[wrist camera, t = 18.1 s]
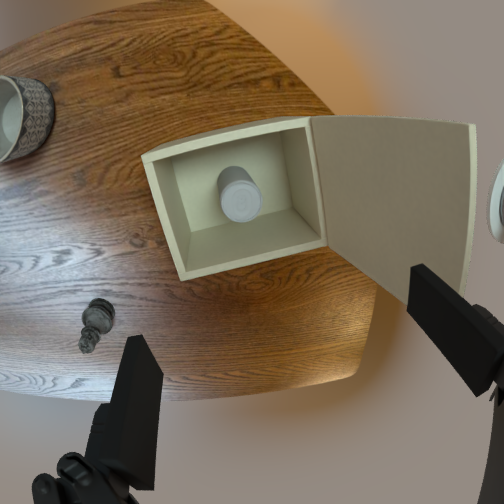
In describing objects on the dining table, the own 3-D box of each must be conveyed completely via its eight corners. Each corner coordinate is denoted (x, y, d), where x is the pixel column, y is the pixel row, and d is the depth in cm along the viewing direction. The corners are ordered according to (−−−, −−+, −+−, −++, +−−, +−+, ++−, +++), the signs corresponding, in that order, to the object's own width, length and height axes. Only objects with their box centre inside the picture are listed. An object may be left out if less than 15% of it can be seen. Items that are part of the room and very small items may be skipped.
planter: (30, 169, 39) (-5, 184, 30) (-10, 128, 34) (-47, 135, 25) (71, 105, 36) (38, 105, 27) (27, 66, 32) (-9, 60, 22)
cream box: (187, 236, 48) (180, 281, 35) (161, 144, 41) (140, 155, 29) (298, 210, 48) (330, 244, 36) (282, 116, 42) (312, 116, 29)
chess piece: (121, 309, 52) (106, 354, 41) (107, 328, 53) (91, 372, 42) (96, 291, 50) (74, 332, 39) (82, 310, 51) (61, 352, 40)
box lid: (448, 339, 19) (454, 335, 19) (469, 124, 12) (476, 124, 12) (328, 247, 35) (334, 245, 35) (310, 116, 29) (316, 115, 29)
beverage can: (250, 164, 43) (264, 181, 33) (249, 196, 45) (263, 223, 35) (216, 165, 43) (219, 181, 32) (217, 197, 45) (220, 224, 34)
